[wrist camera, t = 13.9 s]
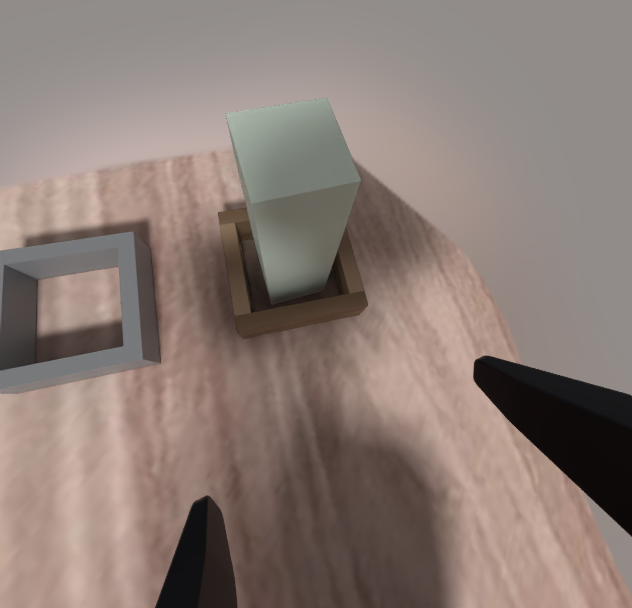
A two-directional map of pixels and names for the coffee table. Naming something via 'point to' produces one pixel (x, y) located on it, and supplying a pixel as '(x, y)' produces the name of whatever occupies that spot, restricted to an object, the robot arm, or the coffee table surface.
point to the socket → (63, 259)
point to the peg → (294, 191)
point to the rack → (290, 316)
